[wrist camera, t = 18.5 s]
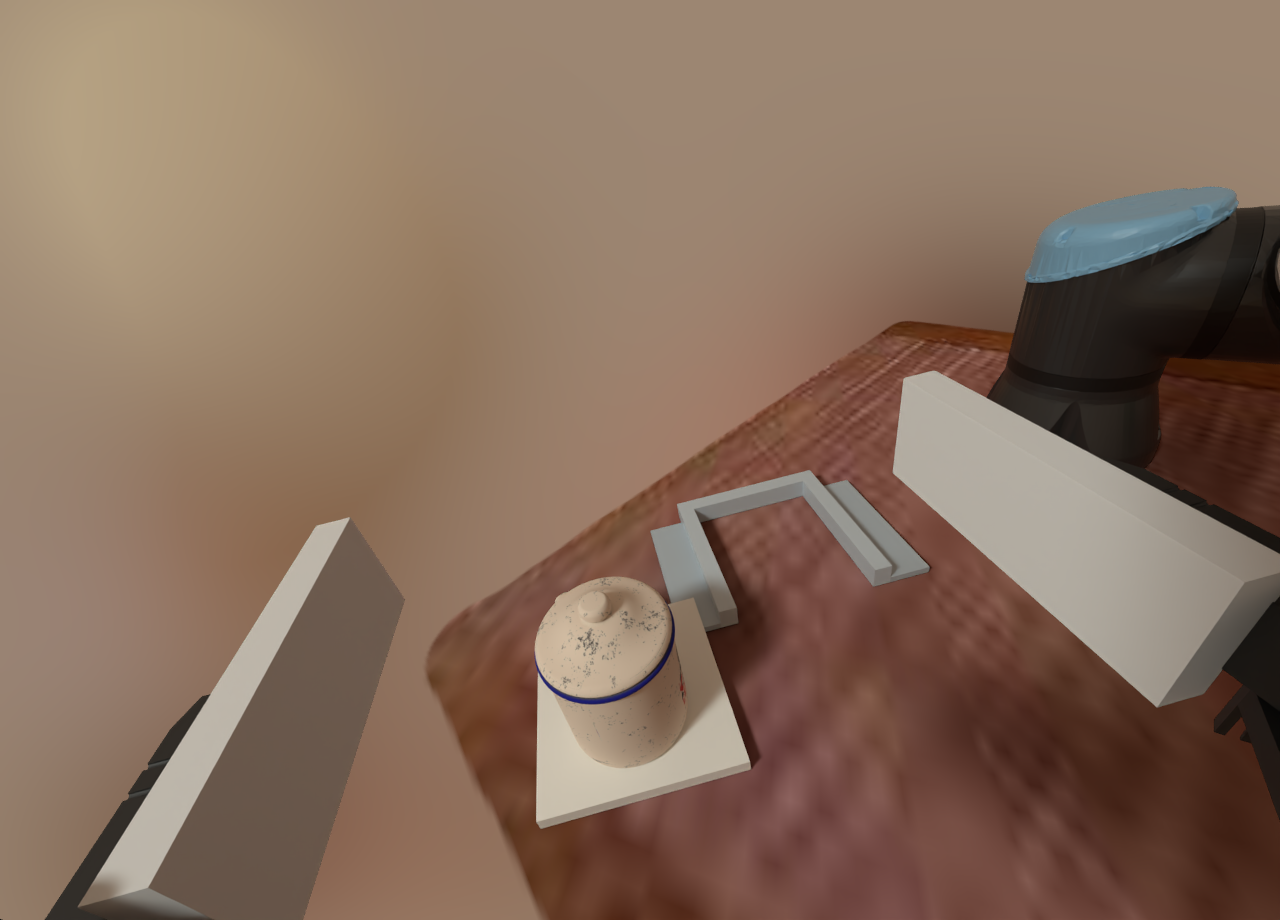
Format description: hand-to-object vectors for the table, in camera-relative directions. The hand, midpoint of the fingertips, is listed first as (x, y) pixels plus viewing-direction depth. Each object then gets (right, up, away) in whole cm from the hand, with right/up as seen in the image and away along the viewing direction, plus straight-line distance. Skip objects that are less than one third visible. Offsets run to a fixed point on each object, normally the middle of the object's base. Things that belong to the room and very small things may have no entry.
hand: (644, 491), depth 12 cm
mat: (-1, -17, +26) cm, 31 cm away
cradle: (+13, -8, +36) cm, 39 cm away
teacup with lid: (-2, -17, +25) cm, 30 cm away
